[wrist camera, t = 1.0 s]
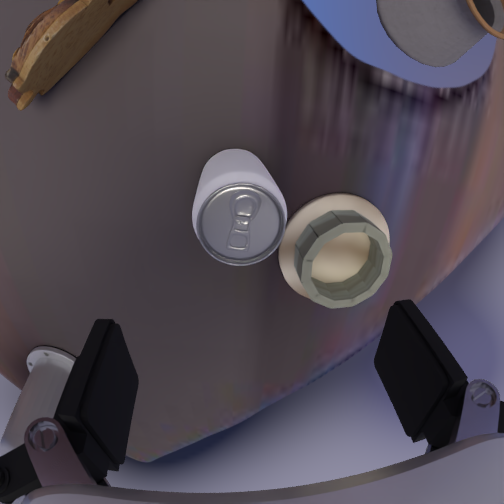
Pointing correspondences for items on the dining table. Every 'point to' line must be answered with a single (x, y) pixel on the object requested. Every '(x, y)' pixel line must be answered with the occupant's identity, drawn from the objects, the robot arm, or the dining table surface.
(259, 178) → the can
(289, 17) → the dining table surface
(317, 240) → the cup holder
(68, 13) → the wooden carving
